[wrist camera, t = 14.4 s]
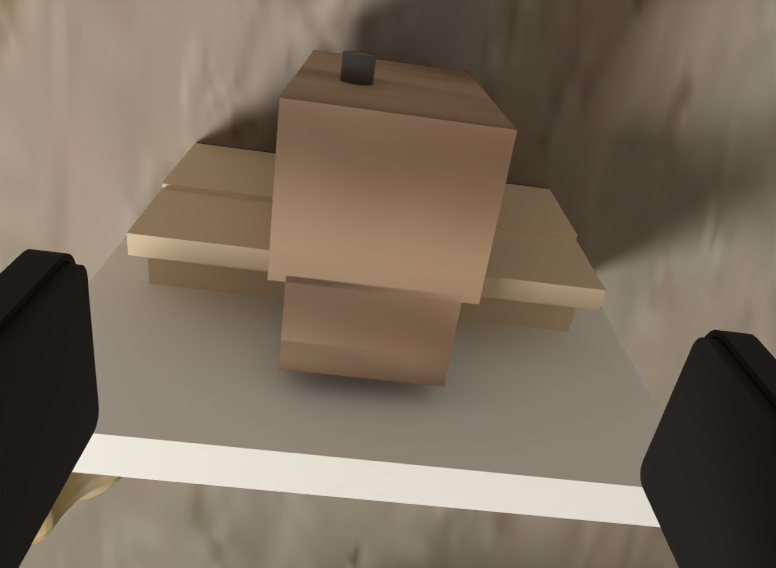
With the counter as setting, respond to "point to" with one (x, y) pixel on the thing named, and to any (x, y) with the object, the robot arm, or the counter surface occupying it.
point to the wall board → (360, 395)
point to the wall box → (382, 213)
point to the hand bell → (74, 497)
